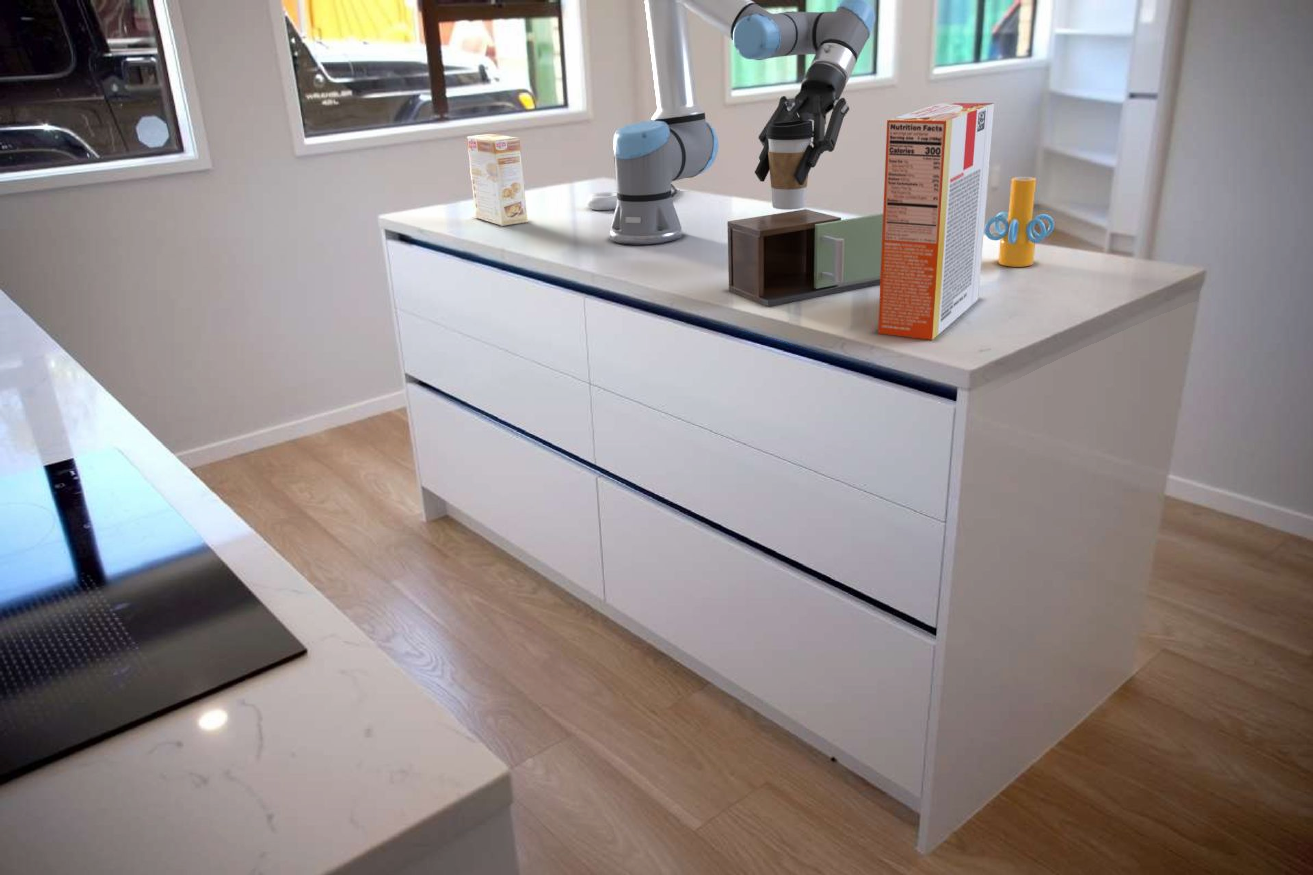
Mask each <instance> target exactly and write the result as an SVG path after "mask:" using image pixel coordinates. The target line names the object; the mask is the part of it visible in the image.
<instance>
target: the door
mask: <svg viewBox="0 0 1313 875" xmlns="http://www.w3.org/2000/svg"><path fill="white" fill-rule="evenodd" d="M882 231H883V213H877V214H869V215H865V216H864V215H863V216H858V217H852V218H845V219H841V220H839V221H833V222H827V223H821V224H815V254H814V288H816V289H818V288H823V287H828V286H834V285H839V284H844V283H849V282H854V281H859V280H864V279H869V278H874V277H879V276H881V255H882Z"/></svg>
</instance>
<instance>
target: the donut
mask: <svg viewBox="0 0 1313 875" xmlns="http://www.w3.org/2000/svg"><path fill="white" fill-rule="evenodd" d="M586 204H587V207H588V208H589V209H592V210H594V211H613V210H616V206H617V191H601V192H595V193H592V194H590V195H589V196H588V197H587V198H586Z"/></svg>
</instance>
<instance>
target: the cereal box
mask: <svg viewBox="0 0 1313 875" xmlns="http://www.w3.org/2000/svg"><path fill="white" fill-rule="evenodd" d="M994 111H995V103H994V102H991V103H990V102H940V103H936V104H934V105H930V106H927V107H924V108H920V109H917V110H915V111H911V112H908V113H905V114H902V115H899V116H896V117H892V118H890V119H887V120H886V139H885V159H884V160H885V162H884V188H883V207H882V208H883V210H882V212H883V231H882V255H881V278H880V284H879V304H878V306H879V307H878V330H877V333H878V334H882V335H889V336H890V335H891V336H897V337H906V338H913V339H920V340H930V341H933V340H934V339H935V338H936V337H937V336H939V335H940V334H941V333H942V332H943V331H944V330H946V328H948V327H949V326H950V325H951V324H952V323H953V322H954V321H956V320H957V319H958V318H959V317H960V316H961V315H963V314H964V313H965V312H966V311H967V310H968V309H969V308H971V307H972V306H973V305H974V304H975V303H976V302H977V301H978V300H979V295H980V294H979V293H980V281H981V270H982V257H983V245H984V234H985V223H986V208H987V196H988V186H989V172H990V160H991V147H992V137H993V136H992V135H993V124H994V113H995V112H994Z"/></svg>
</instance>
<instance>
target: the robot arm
mask: <svg viewBox="0 0 1313 875" xmlns="http://www.w3.org/2000/svg"><path fill="white" fill-rule="evenodd" d="M644 5H645V6H644V7H645V14H646V23H647V32H648V40H649V48H650V58H651V65H652V73H653V82H654V90H655V100H656V107H657V108H656V111H655V112H654V114H653V115H652V116H651V120H646V121H645V120H644V121H639V122H634V123H631V124H630V123H629V124H627V125H623V126H622V127H620V128H618V129H617V130H616V131H615V133H614V135H613V148H612V154H613V160H614V174H615V189H616V192H617V206H616V209H614V214H613V219H612V222H611V227H610V229H609V230H610V240H611V241H612V242H614V243H617V244H622V245H634V246H635V245H638V246H641V245H642V246H644V245H645V246H646V245H658V244H663V243H664V244H665V243H669V242H673V241H676V240H679V239H680V238H681V237H682V234H683V233H682V225H681V222H680V219H679V216H678V214H677V210H676V208H675V205H674V203H673V199H672V198H674V197H675V196H676V195H677V193H678V190H677V188H676V187H675V186H674V184H672V182H676V181H678V180H683V179H691V178H694V177H697V176H698V175H700V174H704V173H705V172H707V171H708V170H710V168H711V167H712V165H713V164H714V163H715V161H716V159H717V156H718V152H719V139H718V135H717V132H716V129H715V128H713V127H712V125H711V124H710V123H709V122H707V121H706V120H707V119H706V111H705V109H703V108H702V107H701V106H700V105H699V104H698V102H697V94H696V93H697V92H696V84H695V82H696V81H695V74H694V65H693V53H692V47H691V46H692V45H691V35H690V26H689V15H688V11H689V12H691V13H692V14H694V15H695V16H697V17H698V18H699V19H701V20H702V21H704V22H705V23H706V24H708V25H710V26H711V27H713V28H714V29H716V30H717V31H718V32H720V33H721V34H723V35H724V36H725V37H727V38H729V39H730V40H732V43H733V46H734V47H735V50H736V52H737V53H738V54H739V56H741V57H742V58H744V59H746V60H755V61H764V60H767V59H774V58H781V57H789V56H790V57H791V56H798V55H814V57H813V59H812V61H811V63H810V66H809V67H808V69H807V71H806V73H805V74H804V76H803V79H802V81H801V84H800V90H799V92H798V93H797V94H796V95H795V96H794V97H792V98H787V96H785V95H783V96H781V97H780V98H779V101H778V105H777V107H776V109H774V112H773V113H772V115H771V116H770V118H769V120H768V121H767V123H765V126H764V127H763V129H762V130H761V132H760V133H759V135H758V140H759V141H760V143H761V145H762V146H763V147H762V149H761V152H760V154H759V156H758V160H759V163H758V164H757V166H756V168H755V170H754V174H755V175H756V177H757V179H758V180H759V181H760V182H765V180H766V179H767V176H768V174H769V173H770V168H769V156H768V150H769V141H768V138H766V136H767V135H766V132H767V127H768V124H771V123H778V122H790V121H799V120H811V121H812V122H813V132H814V133H813V137H812V140H811V145H808V146H807V148H806V150H805V152H804V154H803V157H802V159H801V161H800V163H799V165H798V167H797V169H796V171H795V173H794V177H795V179H796V180H797V182H798V184H799V185H803V184H804V182H805V179H806V177H807V175H808V176H809V174H810V171H811V169H812V168H815V167H816V165H817V163H818V161H819V159H820V157H821V155H823V154H824V153H825V152H829V153H831V152H832V153H833V151H834V150H835V147H836V145H837V141H838V138H839V135H840V131H841V128H842V124H843V122H844V118H845V116H846V115H847V114H848V112H849V111H850V106H849V105H848V102H847V100H846V98H845V97H841V96H842V94H843V92H844V90H845V88H846V85H847V83H848V82H849V80H850V78H851V75H852V73H853V71H854V68H855V67H856V64H857V62H858V59H859V57H860V55H861V53H862V51H863V49H864V47H865V46H866V44H867V41H868V40H869V39H870V37H871V32H872V30H873V27H874V24H875V22H876V13H875V11H874V8H873V7H872V5H871V4H870V3H868V2H867V1H866V0H842V1H841V2H840V3H839V5H838V6H837V7H836V9H835V11H822V12H821V11H820V12H819V11H795V10H794V11H793V10H791V11H783V12H778V13H772V12H769V11H767V9H765V8H763V7H762V6H760V5H758V4H757V3H756V2H755V1H753V0H644ZM830 112H831V114H830V117H829V121H828V124H827V115H828V113H830ZM826 125H827V127H826ZM672 191H673V192H672Z"/></svg>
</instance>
